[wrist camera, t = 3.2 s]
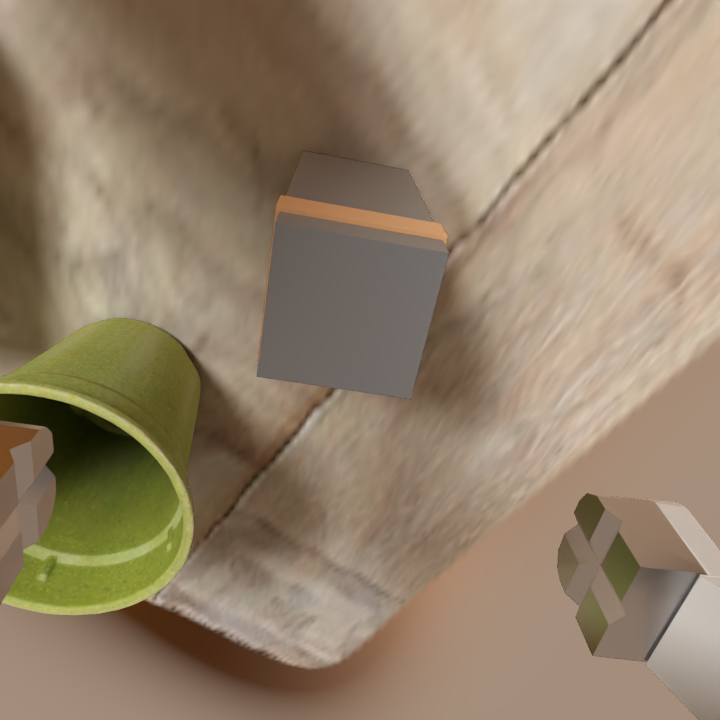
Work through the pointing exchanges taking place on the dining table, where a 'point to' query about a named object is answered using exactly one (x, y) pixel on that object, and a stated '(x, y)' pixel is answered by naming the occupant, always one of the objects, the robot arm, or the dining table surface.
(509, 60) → the dining table surface
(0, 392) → the plant pot
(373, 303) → the plug
